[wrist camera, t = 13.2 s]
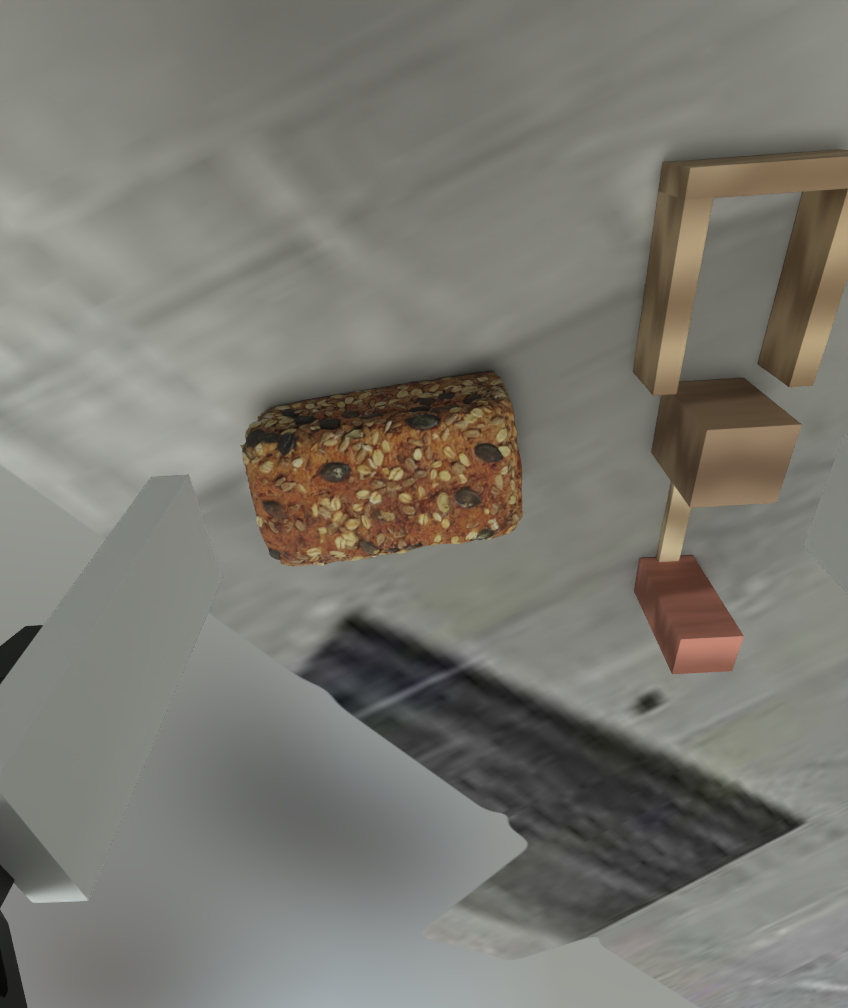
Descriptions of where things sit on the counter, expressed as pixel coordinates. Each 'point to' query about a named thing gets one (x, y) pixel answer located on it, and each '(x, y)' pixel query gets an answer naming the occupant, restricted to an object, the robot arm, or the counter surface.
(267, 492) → the bread
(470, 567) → the counter surface
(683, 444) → the tethered block
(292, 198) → the counter surface
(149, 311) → the counter surface
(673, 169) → the frame
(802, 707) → the counter surface
